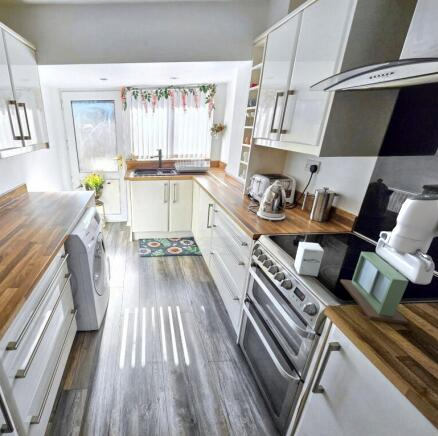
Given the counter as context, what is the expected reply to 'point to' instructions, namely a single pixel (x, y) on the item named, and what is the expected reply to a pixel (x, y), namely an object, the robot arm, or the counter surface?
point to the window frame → (364, 284)
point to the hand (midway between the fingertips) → (394, 279)
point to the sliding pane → (380, 286)
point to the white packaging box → (308, 258)
